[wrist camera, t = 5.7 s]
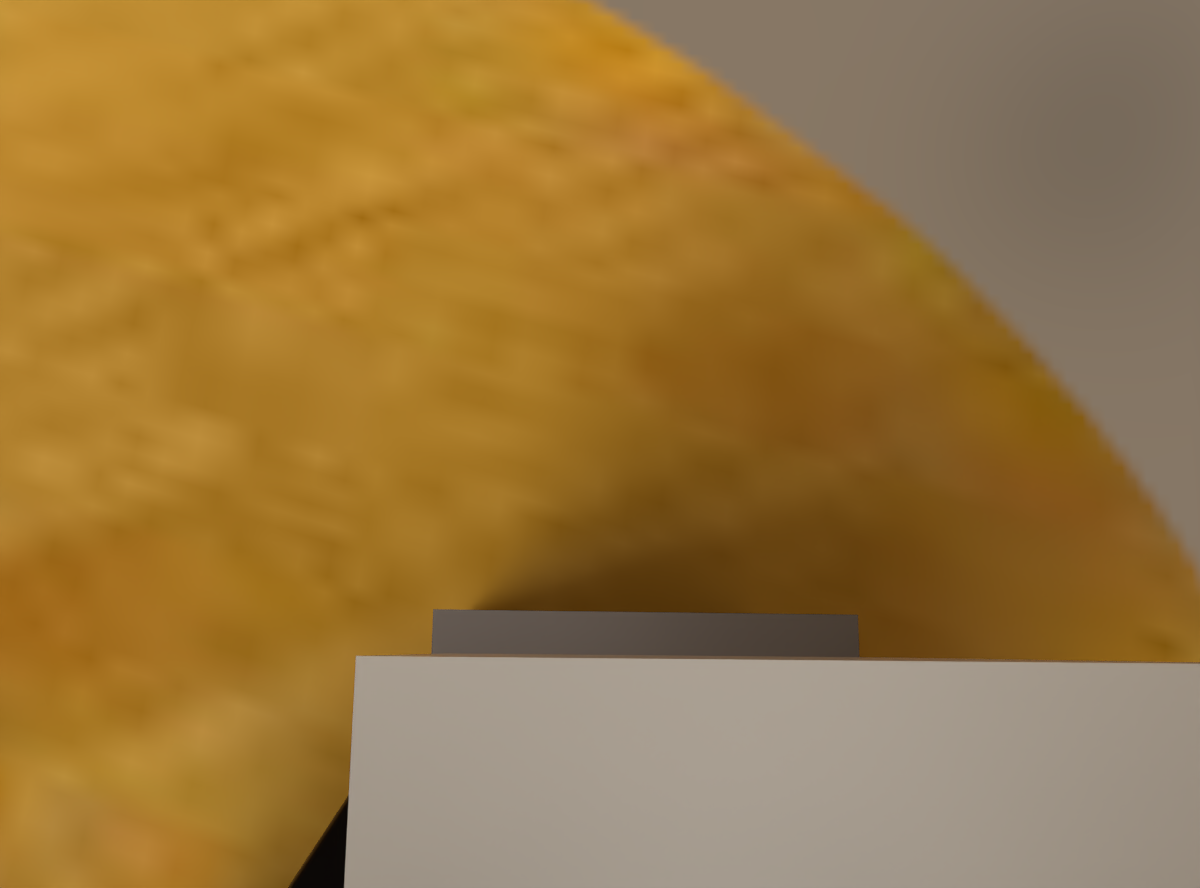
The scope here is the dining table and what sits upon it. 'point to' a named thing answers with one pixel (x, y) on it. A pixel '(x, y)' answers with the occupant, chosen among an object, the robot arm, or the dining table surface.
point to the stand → (644, 633)
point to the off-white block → (772, 772)
